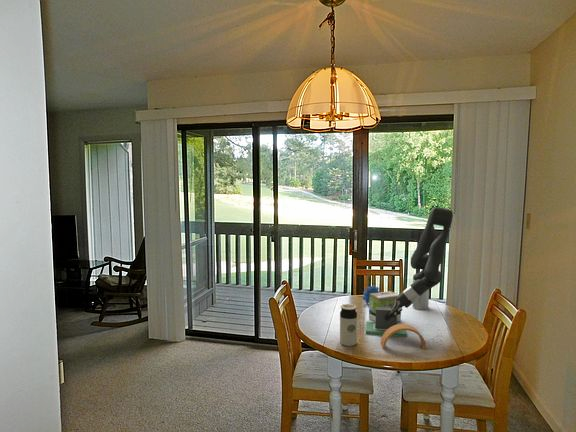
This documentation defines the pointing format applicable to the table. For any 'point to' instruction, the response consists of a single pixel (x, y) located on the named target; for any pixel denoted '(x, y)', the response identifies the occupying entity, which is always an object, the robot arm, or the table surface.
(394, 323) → the block
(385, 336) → the arch
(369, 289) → the grapes
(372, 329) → the board
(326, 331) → the table surface
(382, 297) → the tea box
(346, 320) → the travel mug
